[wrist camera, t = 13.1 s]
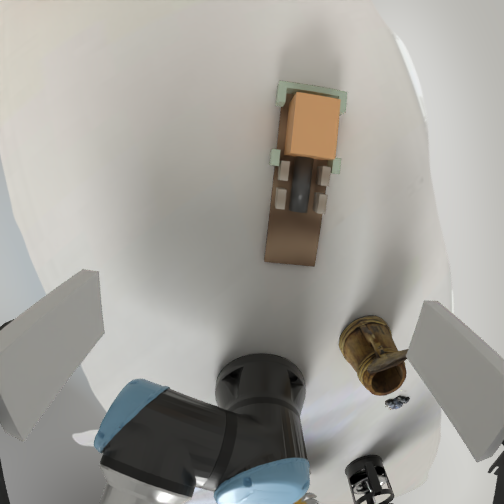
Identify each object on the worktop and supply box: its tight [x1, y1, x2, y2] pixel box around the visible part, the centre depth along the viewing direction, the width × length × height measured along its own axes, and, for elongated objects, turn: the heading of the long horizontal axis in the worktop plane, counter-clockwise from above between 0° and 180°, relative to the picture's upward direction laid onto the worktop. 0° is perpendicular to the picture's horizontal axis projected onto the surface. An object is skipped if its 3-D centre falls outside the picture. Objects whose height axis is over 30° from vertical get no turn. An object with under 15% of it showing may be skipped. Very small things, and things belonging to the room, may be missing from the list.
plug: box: [284, 92, 341, 213], centre depth 36 cm, size 14×5×7 cm, turn 174°
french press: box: [345, 455, 394, 504], centre depth 47 cm, size 12×9×23 cm
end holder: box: [269, 81, 347, 174], centre depth 37 cm, size 11×9×3 cm
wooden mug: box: [339, 316, 408, 396], centre depth 38 cm, size 9×14×18 cm, turn 22°
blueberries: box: [385, 390, 410, 410], centre depth 51 cm, size 7×8×2 cm
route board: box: [264, 93, 331, 266], centre depth 39 cm, size 24×7×4 cm, turn 174°
